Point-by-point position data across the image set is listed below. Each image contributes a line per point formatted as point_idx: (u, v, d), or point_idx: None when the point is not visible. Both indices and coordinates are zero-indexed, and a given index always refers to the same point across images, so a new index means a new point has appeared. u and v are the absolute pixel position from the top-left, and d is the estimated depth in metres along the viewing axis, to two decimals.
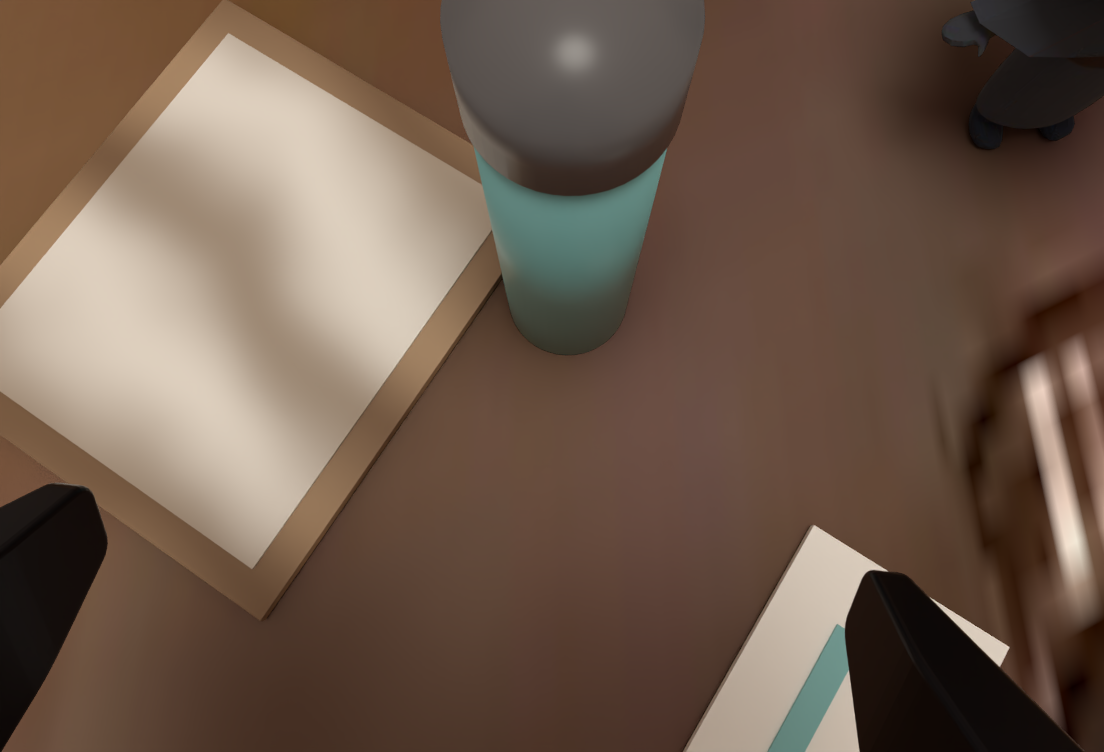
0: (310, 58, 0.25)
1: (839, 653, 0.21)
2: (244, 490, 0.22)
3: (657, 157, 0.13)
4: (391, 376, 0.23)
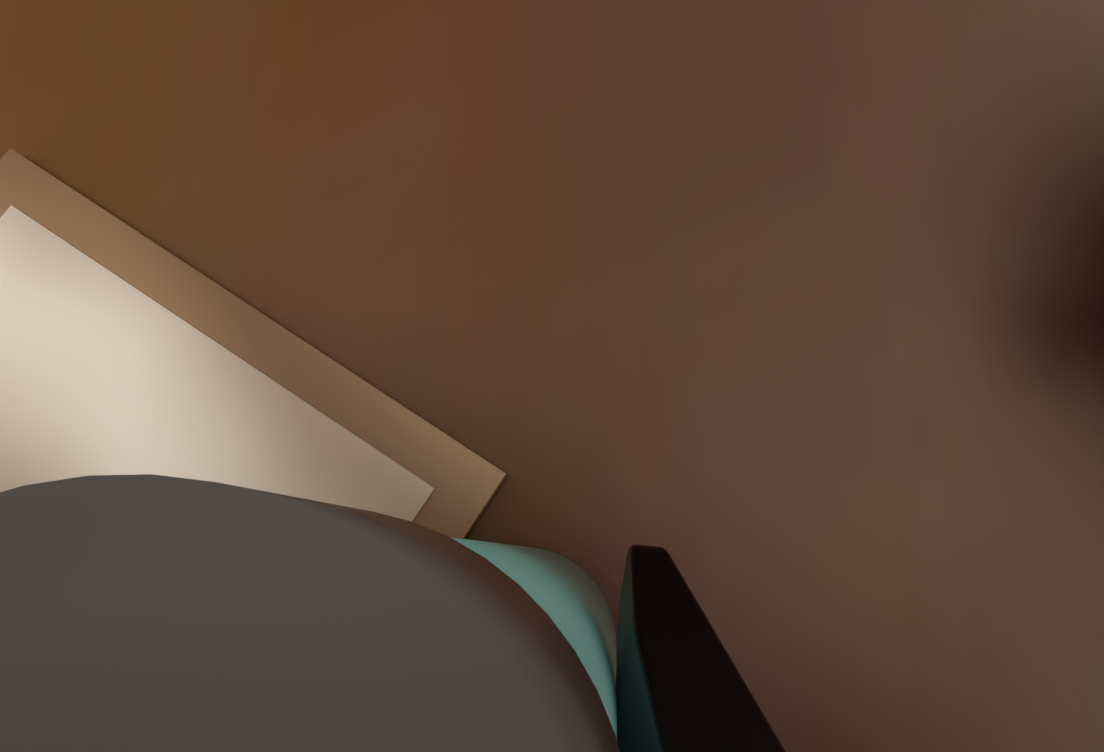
0: (134, 245, 0.17)
1: None
2: None
3: None
4: None
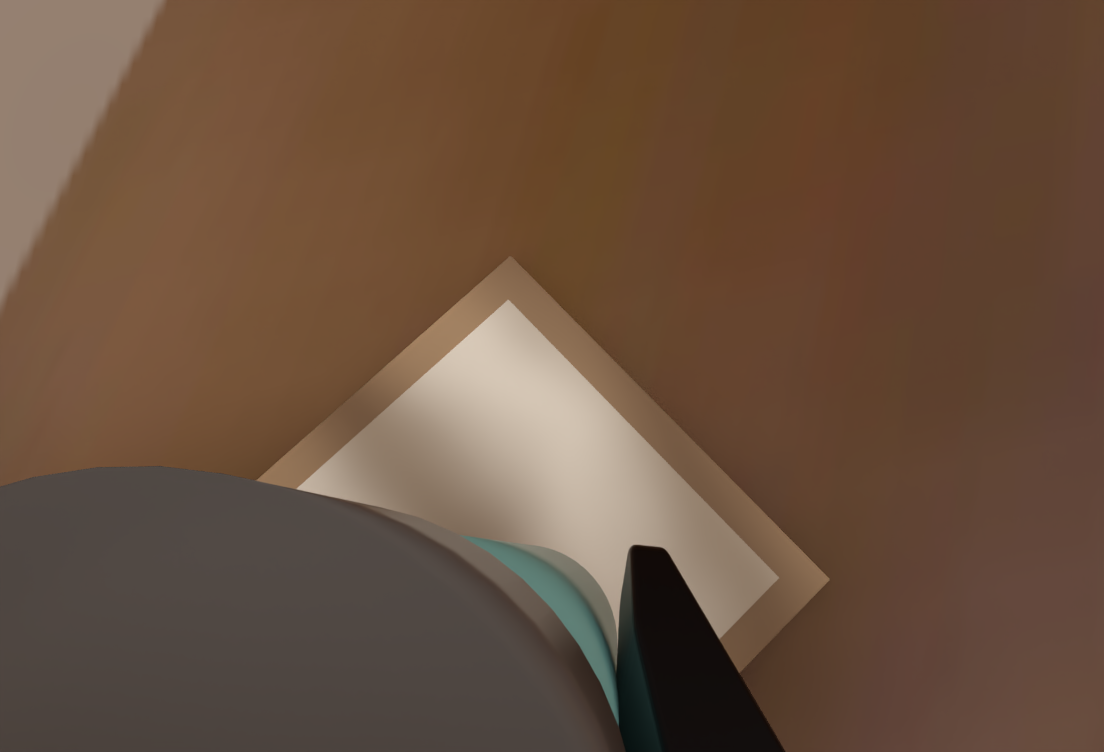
0: (589, 349, 0.23)
1: None
2: None
3: None
4: None
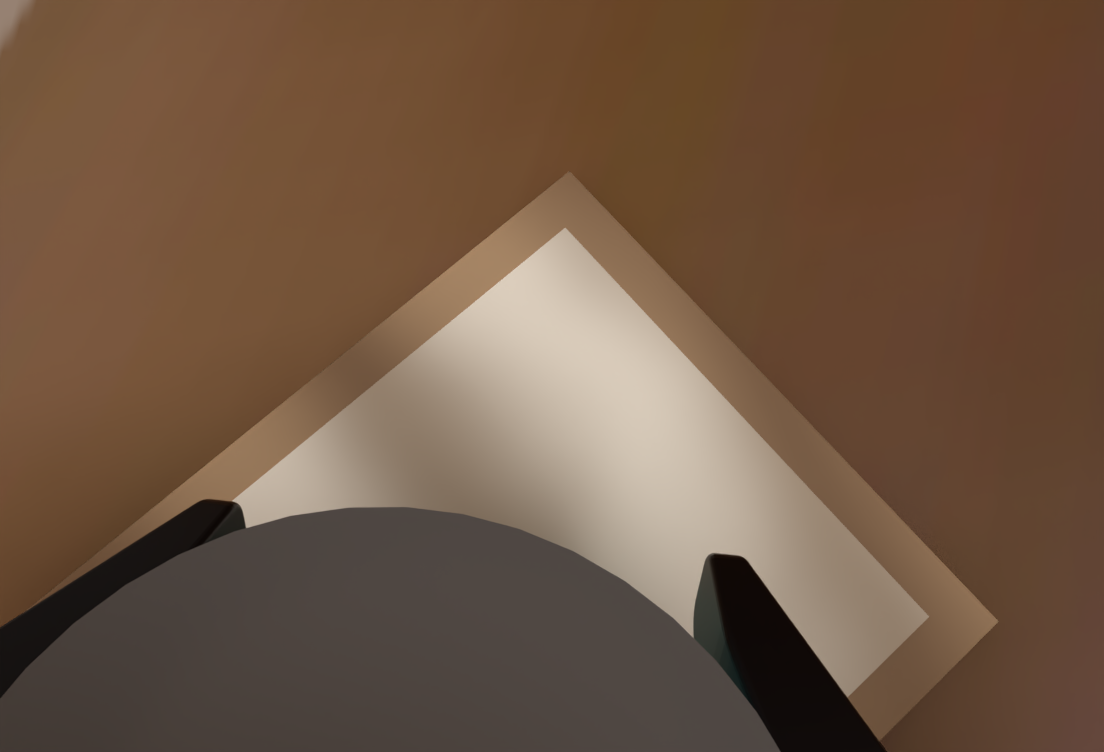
0: (672, 297, 0.17)
1: None
2: None
3: None
4: None
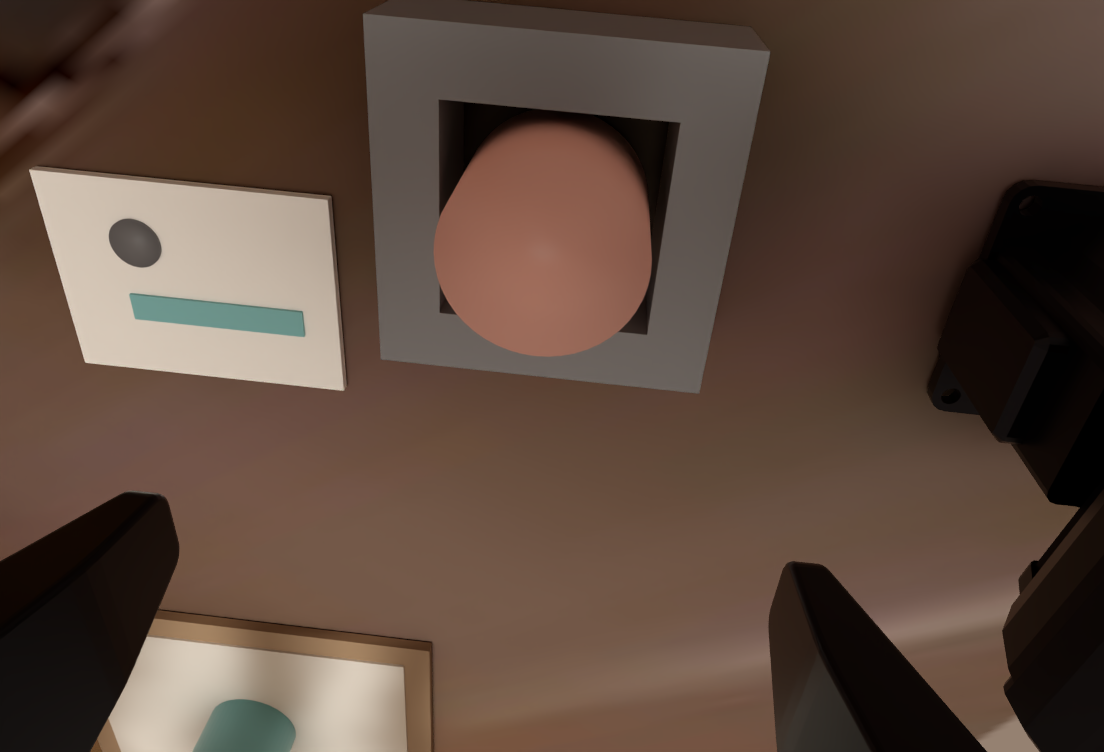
0: (106, 747, 0.35)
1: (154, 307, 0.23)
2: (365, 685, 0.31)
3: None
4: (236, 644, 0.31)
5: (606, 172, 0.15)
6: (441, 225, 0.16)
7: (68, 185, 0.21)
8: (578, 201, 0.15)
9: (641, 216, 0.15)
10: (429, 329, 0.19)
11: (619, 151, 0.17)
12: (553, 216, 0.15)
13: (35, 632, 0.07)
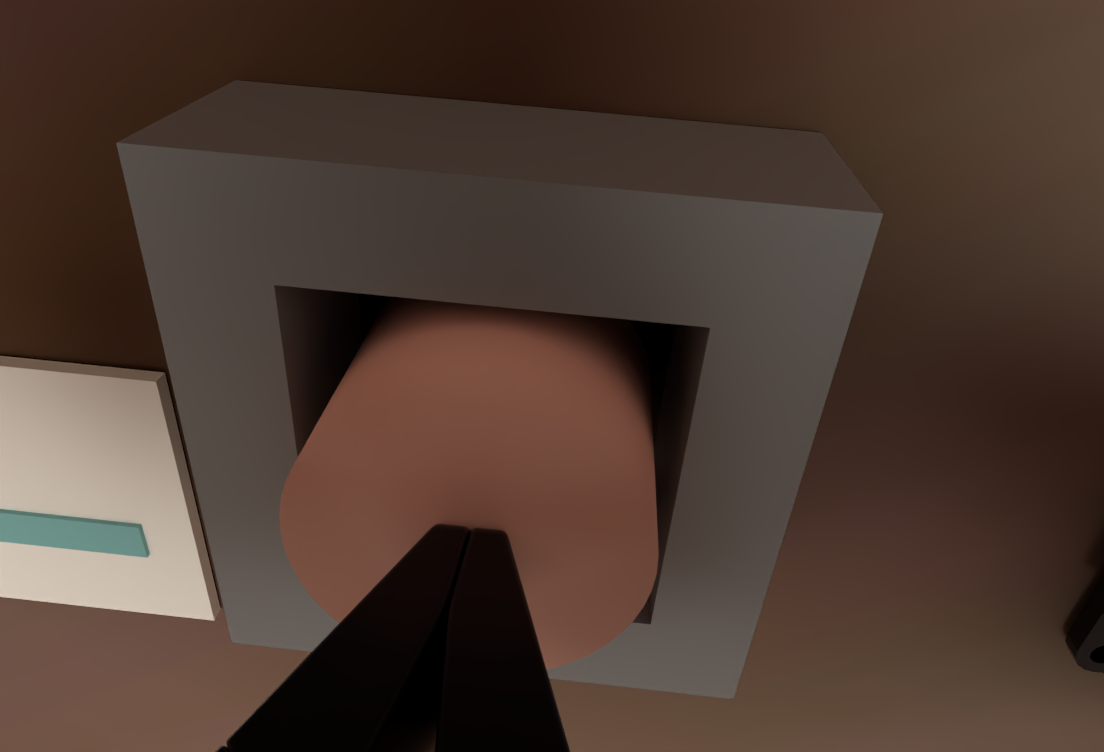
0: None
1: None
2: None
3: None
4: None
5: (574, 420, 0.08)
6: (288, 497, 0.09)
7: None
8: (526, 467, 0.08)
9: (639, 491, 0.09)
10: (303, 608, 0.12)
11: (602, 341, 0.10)
12: (483, 488, 0.09)
13: (421, 675, 0.07)
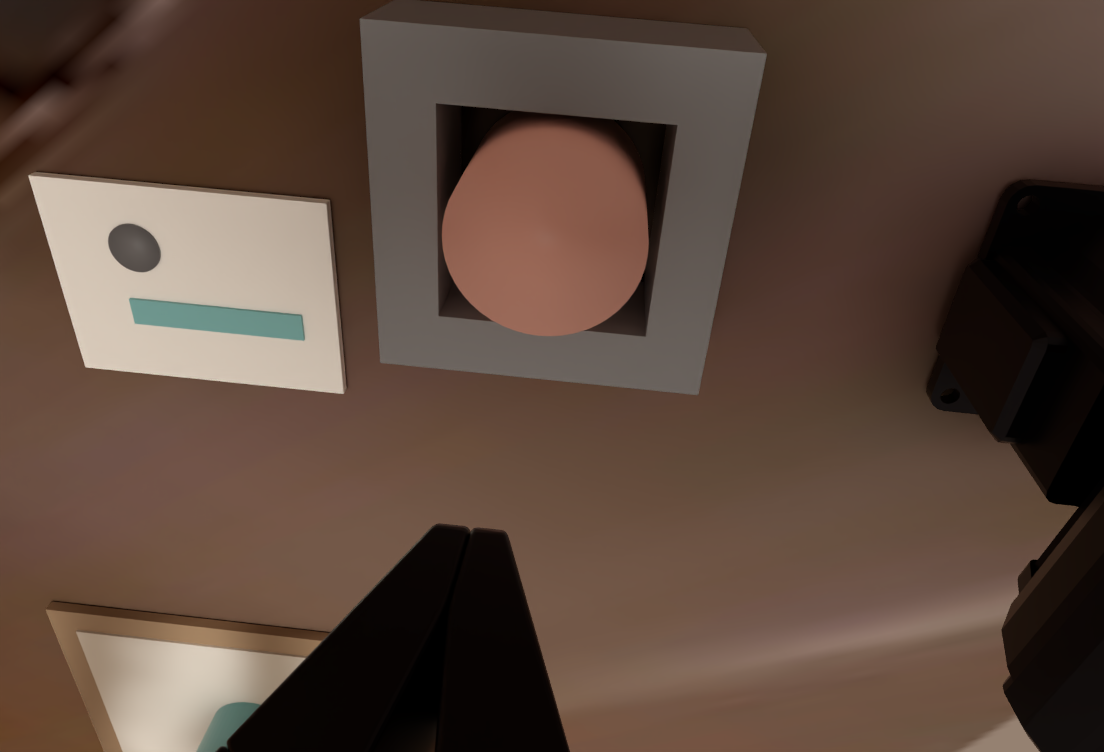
0: (109, 750, 0.35)
1: (154, 311, 0.23)
2: None
3: None
4: (238, 647, 0.31)
5: (605, 159, 0.16)
6: (449, 211, 0.16)
7: (67, 190, 0.21)
8: (578, 186, 0.16)
9: (638, 200, 0.16)
10: (429, 332, 0.19)
11: (617, 140, 0.18)
12: (555, 201, 0.16)
13: (421, 674, 0.07)
